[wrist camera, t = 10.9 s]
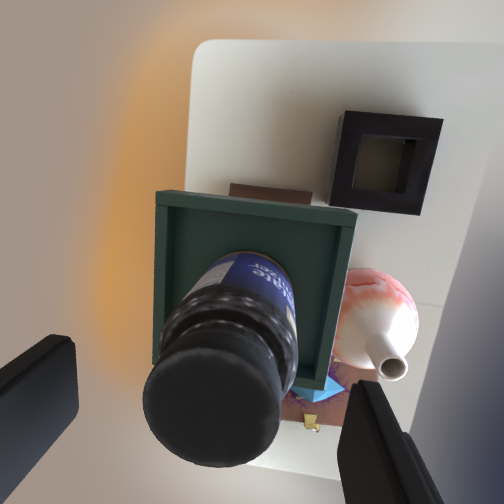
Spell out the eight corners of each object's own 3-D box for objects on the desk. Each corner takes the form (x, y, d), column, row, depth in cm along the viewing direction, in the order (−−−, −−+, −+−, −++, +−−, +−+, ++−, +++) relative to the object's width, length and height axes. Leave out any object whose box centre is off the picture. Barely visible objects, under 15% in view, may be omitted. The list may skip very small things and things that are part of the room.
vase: (394, 339, 48) (455, 427, 31) (308, 338, 50) (322, 421, 33) (401, 258, 45) (474, 307, 28) (309, 258, 47) (325, 305, 29)
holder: (339, 116, 41) (345, 110, 37) (428, 124, 40) (444, 118, 37) (325, 203, 44) (329, 205, 40) (407, 212, 43) (420, 215, 40)
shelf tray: (170, 189, 20) (155, 191, 18) (349, 209, 19) (358, 213, 17) (165, 345, 23) (151, 365, 21) (319, 369, 22) (324, 391, 20)
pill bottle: (310, 301, 20) (343, 440, 9) (239, 346, 21) (198, 512, 11) (256, 228, 19) (225, 290, 9) (185, 280, 21) (83, 388, 10)
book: (230, 325, 52) (224, 339, 47) (377, 338, 49) (388, 354, 45) (227, 409, 55) (222, 430, 50) (365, 423, 53) (374, 447, 48)
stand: (231, 183, 45) (170, 189, 20) (311, 192, 44) (349, 209, 19) (225, 259, 48) (165, 345, 23) (300, 268, 47) (319, 369, 22)
